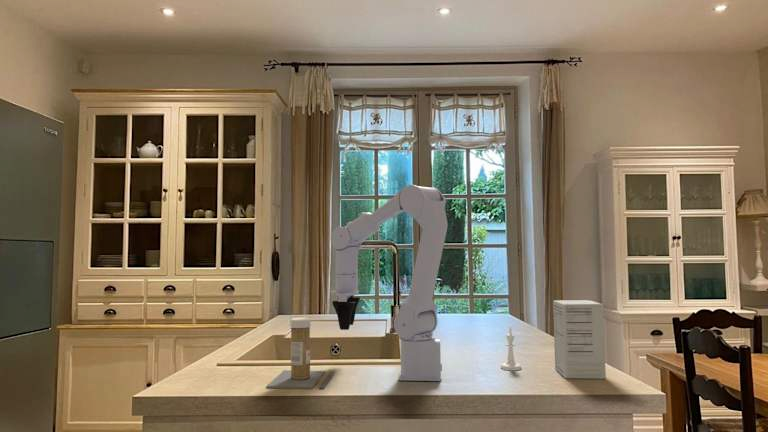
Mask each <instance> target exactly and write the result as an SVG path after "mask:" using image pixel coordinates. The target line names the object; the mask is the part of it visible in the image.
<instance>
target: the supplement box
mask: <svg viewBox="0 0 768 432" xmlns="http://www.w3.org/2000/svg"><path fill="white" fill-rule="evenodd" d="M552 304H553V306H552V309H553V329H554V330H553V331H554V332H553V335H554V338H553V340H554V341H553V343H554V371H557V372H558V373H559V374H560V375H562V377H564V378H565V379H589V380H590V379H591V380H592V379H593V380H594V379H596V380H597V379H601V380H604V379H607V378H606V377H607V376H606V371H607V370H606V347H605V346H606V345H605V342H606V341H605V315H604V314H605V313H604V311H605V310H604V303H600V302H597V301H593V300H590V299H589V300H588V299H583V300H582V299H581V300H580V299H579V300H577V299H575V300H572V299H571V300H570V299H569V300H568V299H567V300H566V299H565V300H562V299H560V300H555V299H554V300H553V301H552Z"/></svg>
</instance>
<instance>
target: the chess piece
mask: <svg viewBox="0 0 768 432" xmlns="http://www.w3.org/2000/svg"><path fill="white" fill-rule="evenodd" d="M505 337H506V339H507V343H506V345H505V346H507V347H508V353H507V359H506V360H505V362H503V363H501V365H500V368H501V370H505V371H520V370H522V365H521V364H520V363H517V362H516V360H515V357H514V348H513V347H515V346H516V344H515V343H513V342H514V339H515V334H513V333H512V327H511V326H509V333H507V334H506V336H505Z"/></svg>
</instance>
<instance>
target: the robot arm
mask: <svg viewBox="0 0 768 432" xmlns="http://www.w3.org/2000/svg"><path fill="white" fill-rule="evenodd" d="M446 202H447V199H446V197H445V196H444V195H443V194H442V192H441V191H440V190H439V189H438V188H436V187H427V186H419V185H415V184H408V185H406V186H405V187H403V188H402V189H399V190H397V192H396V194H395V195H394V196H393V197H391V198H390V199H388V201H386V202H385V203H384V204H382V205H381V206H380V207H378V208H377V209H376V210H375V211H373V213H372V212H368V211H366V212H362V211H361V212H360V213H359V214H358V217H356V218H355V219H353V220H352V221H348V222H347V223H346V225H345V226H336V227H335V228H334V229H333V230H332V232H331V234H330V243H331V245H332V247H333V248H334V249H335V290H331V292H330V294H331V295H336V296H337V297H338V299H337V300H332V302H331V303H332V306H333V308H334V310H335V313H336V315H337V320H338V326H339V330H342V331H348V330H350V326H353V325H354V323H355V319H356V318H355V317H356V312H357V308H358V304H359V302H360V299H361V297H360V296H358V295H359V294H360V293H359V278H358V276H359V274H358V273H359V268H358V266H359V264H358V263H359V262H358V260H359V259H358V258H359V257H358V256H359V254H360V247H362V244H363V242H364V241H365V240H367V239H368V238H370V237H372V236H373V235H374V234H375V235H376V234H377V233H379V230H380V228H381V225H382V224H383V223H386V222H387V221H389V220H390V219H393V218H394V217H396V216H398V215H400V214H401V213H403V212H406V213H407V214H408V215H409V216H411V217H412V218H413V219H414V220H415V221H416V222H417V223H418V225H419V226H420V228H421V235H420V240H419V244H418V248H417V249H418V250H417V253H416V254H417V255H416V259H415V264H414V269H413V273H412V278H411V282H410V288H409V291H408V292H409V293H408V295H407V297H405V299H404V300H403V301H402V303H401V304H400V307H399V311H398V312H397V314H396V315H395V317H394V320H393V327H394V331H395V333H396V334H397V335H398V339H399V340H400V370H399V373H398V381H410V382H411V381H412V382H415V381H416V382H418V381H419V382H420V381H421V382H440V381H442V380H441V377H442V372H443V363H442V362H441V339H440V338H436V337H435V338H433V335H434V334H433V332H434V331H435V330H436V329H437V326H438V317H437V316H438V315H437V312H438V311H437V310H438V305H437V304H436V302H435V301H434V300H433V298H434V292H435V289H436V284H437V278H438V273H439V269H440V265H441V264H440V263H441V261H442V260H441V259H442V255H443V251H444V245H445V242H446V241H445V240H446V236H447V231H448V226H449V225H448V218H447V213H446V208H445V207H446ZM356 295H357V296H356Z"/></svg>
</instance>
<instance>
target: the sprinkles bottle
mask: <svg viewBox="0 0 768 432" xmlns="http://www.w3.org/2000/svg"><path fill="white" fill-rule="evenodd" d="M311 323H312V322H311V318H310V317H294V318H291V319H290V325H289V326H290V329H291V330H290V331H291V332H290V335H291V336H290V337H291V338H290V363H291V364H290V365H291V366H290V370H291V378H292V379H295V380H304V379H308V378H310V376H311V374H310V371H311V342H310V341H311V340H310V338H311V337H310V336H311V335H310V334H311V325H312V324H311Z"/></svg>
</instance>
